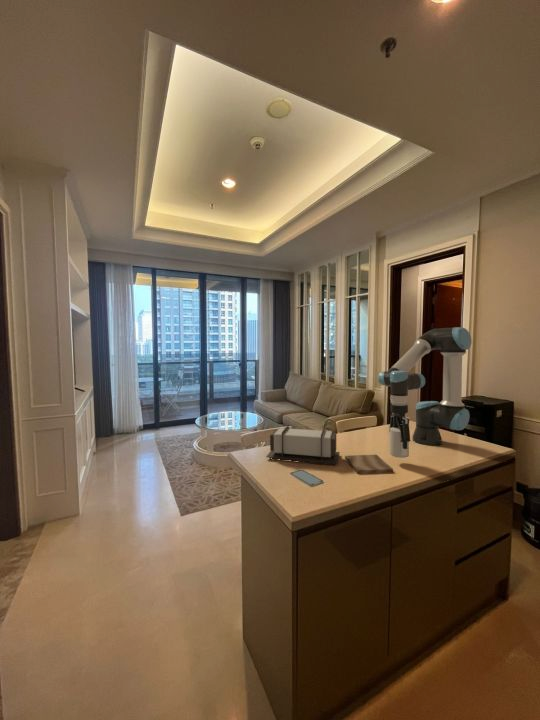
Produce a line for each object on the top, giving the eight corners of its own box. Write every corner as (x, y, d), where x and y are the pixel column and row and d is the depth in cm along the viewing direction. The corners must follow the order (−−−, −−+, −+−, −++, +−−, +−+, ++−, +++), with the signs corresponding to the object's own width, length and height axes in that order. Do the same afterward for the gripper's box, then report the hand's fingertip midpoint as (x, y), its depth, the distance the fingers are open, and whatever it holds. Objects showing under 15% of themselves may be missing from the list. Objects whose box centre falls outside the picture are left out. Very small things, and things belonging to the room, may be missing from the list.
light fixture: (337, 436, 140) (265, 431, 150) (337, 467, 141) (266, 460, 151) (339, 427, 155) (273, 423, 165) (339, 455, 156) (274, 450, 165)
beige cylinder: (409, 458, 138) (409, 432, 138) (390, 456, 141) (390, 431, 140) (408, 452, 146) (408, 427, 145) (389, 450, 149) (389, 426, 148)
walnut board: (376, 457, 152) (376, 454, 152) (393, 472, 134) (393, 469, 134) (344, 458, 151) (344, 455, 151) (357, 473, 133) (357, 470, 133)
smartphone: (302, 469, 138) (324, 481, 125) (302, 471, 138) (324, 483, 125) (288, 473, 134) (310, 485, 121) (288, 474, 134) (310, 487, 121)
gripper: (381, 400, 152) (382, 444, 154) (402, 409, 131) (402, 460, 133) (396, 399, 153) (396, 444, 154) (419, 408, 132) (419, 459, 133)
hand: (399, 451), depth 143 cm, fingers closed on beige cylinder, 8 cm apart
